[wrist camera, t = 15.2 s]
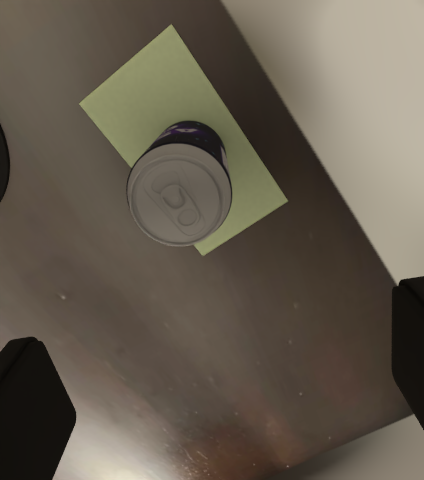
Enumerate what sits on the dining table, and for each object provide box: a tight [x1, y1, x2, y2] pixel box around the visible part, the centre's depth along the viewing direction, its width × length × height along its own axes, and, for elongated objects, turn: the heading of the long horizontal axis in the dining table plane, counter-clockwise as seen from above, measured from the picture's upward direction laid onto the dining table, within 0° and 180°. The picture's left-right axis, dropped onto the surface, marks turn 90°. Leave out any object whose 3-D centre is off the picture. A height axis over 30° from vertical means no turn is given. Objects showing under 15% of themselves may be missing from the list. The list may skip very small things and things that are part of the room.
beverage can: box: [126, 121, 232, 247], centre depth 24 cm, size 6×6×12 cm
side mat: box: [79, 24, 288, 256], centre depth 29 cm, size 16×9×1 cm, turn 36°
